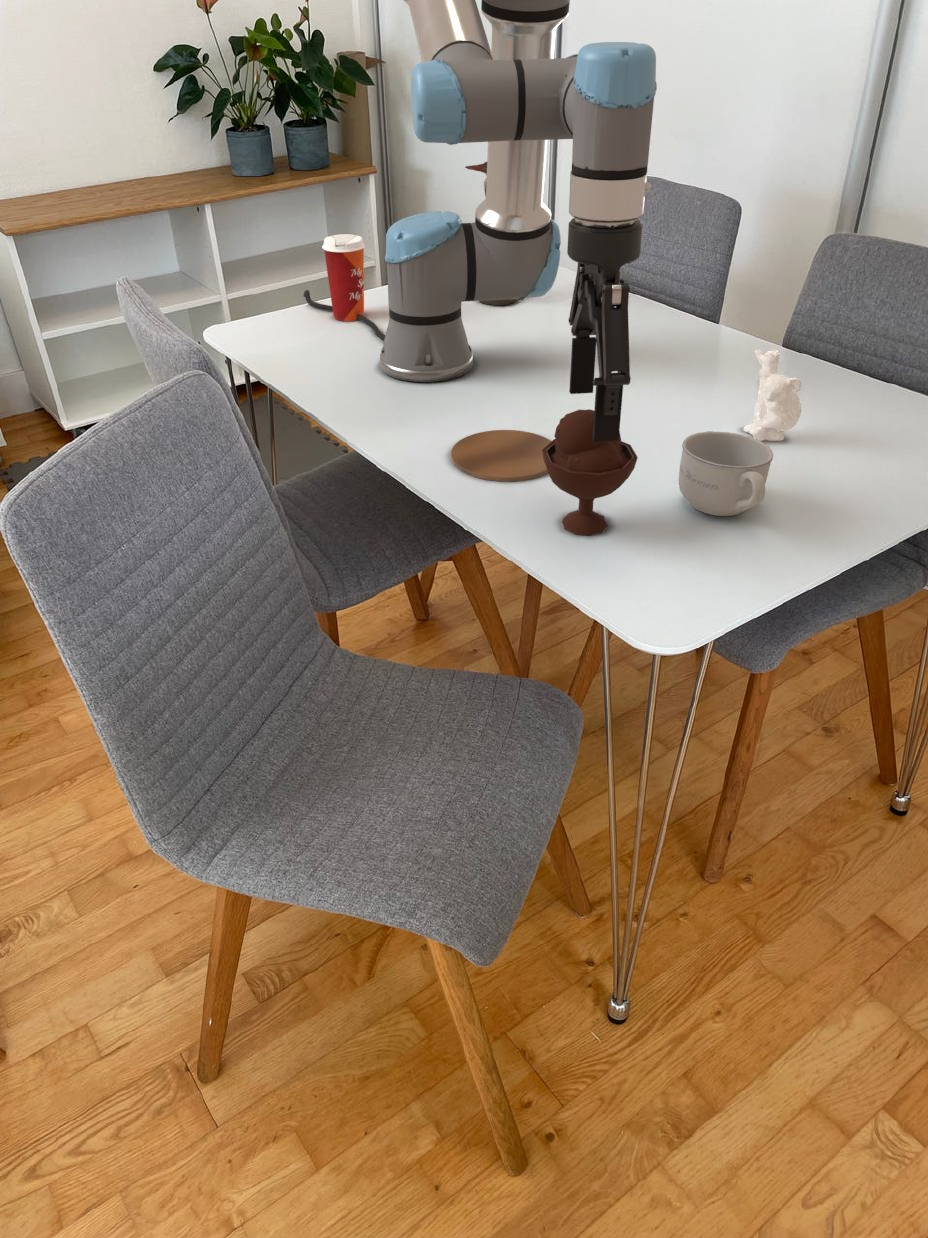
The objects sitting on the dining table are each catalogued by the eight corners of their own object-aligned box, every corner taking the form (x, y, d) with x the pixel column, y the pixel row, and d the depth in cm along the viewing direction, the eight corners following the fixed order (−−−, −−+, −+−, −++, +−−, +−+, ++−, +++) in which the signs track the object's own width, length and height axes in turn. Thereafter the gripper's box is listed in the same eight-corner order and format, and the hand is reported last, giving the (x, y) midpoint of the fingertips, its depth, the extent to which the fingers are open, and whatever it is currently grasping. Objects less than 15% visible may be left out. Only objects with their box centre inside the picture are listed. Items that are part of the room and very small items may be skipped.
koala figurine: (727, 430, 145) (740, 348, 138) (765, 421, 147) (779, 341, 140) (766, 452, 138) (781, 369, 131) (804, 443, 141) (821, 360, 134)
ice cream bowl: (627, 550, 117) (639, 431, 109) (532, 541, 119) (536, 423, 111) (633, 507, 126) (644, 394, 117) (545, 499, 128) (549, 387, 119)
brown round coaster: (428, 460, 137) (428, 456, 137) (496, 424, 147) (496, 420, 146) (516, 492, 129) (516, 488, 129) (581, 452, 139) (582, 448, 139)
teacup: (665, 486, 130) (672, 429, 126) (747, 482, 131) (757, 425, 126) (695, 541, 119) (703, 480, 114) (784, 536, 120) (796, 476, 115)
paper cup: (367, 323, 184) (362, 244, 176) (325, 323, 184) (318, 244, 176) (371, 309, 190) (366, 232, 182) (330, 309, 191) (324, 232, 183)
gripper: (675, 248, 92) (652, 460, 104) (615, 191, 113) (602, 373, 125) (594, 251, 92) (581, 464, 104) (548, 193, 112) (542, 376, 124)
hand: (592, 415), depth 114 cm, fingers open, 13 cm apart
